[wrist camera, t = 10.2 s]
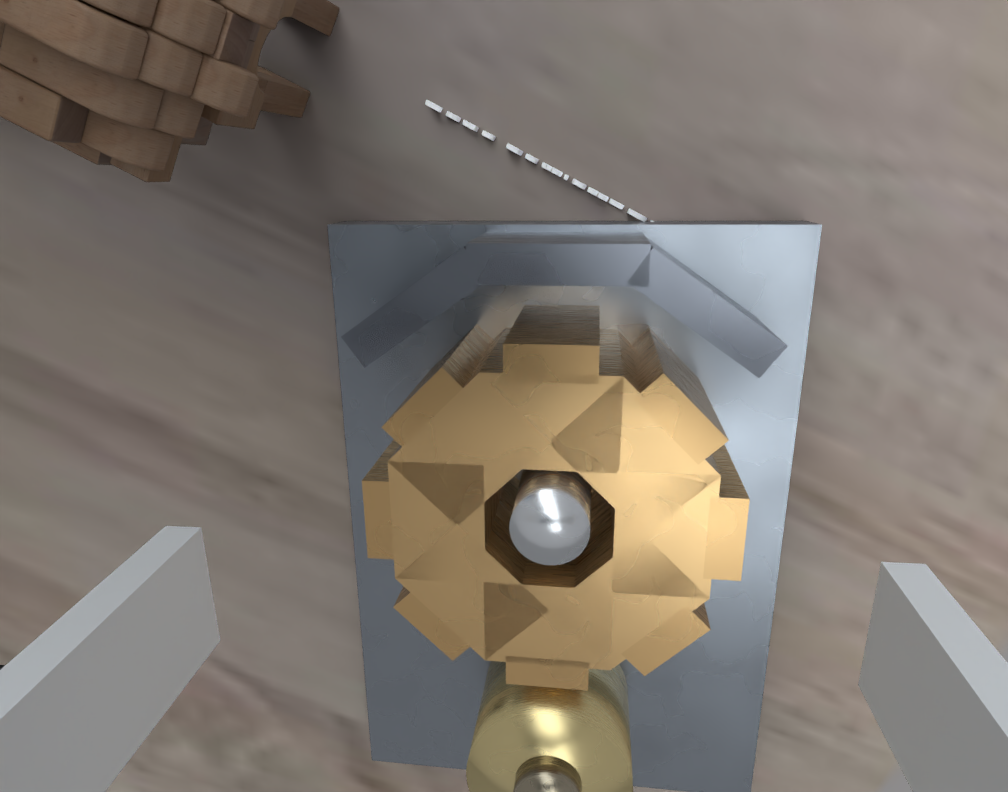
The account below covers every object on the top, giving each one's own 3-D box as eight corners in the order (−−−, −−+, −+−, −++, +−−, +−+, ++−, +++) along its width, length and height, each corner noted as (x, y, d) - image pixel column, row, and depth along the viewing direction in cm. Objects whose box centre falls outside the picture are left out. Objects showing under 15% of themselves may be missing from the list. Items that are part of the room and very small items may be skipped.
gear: (406, 302, 21) (351, 340, 16) (726, 307, 20) (766, 349, 15) (420, 574, 24) (376, 673, 19) (701, 592, 23) (727, 701, 18)
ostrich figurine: (162, 103, 22) (-1245, -116, 5) (227, -125, 20) (-1834, -1773, 3) (634, 345, 23) (741, 863, 6) (747, 147, 20) (1479, 23, 3)
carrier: (344, 221, 22) (247, 239, 16) (806, 221, 20) (895, 241, 14) (383, 730, 28) (323, 885, 22) (741, 763, 27) (785, 942, 20)
